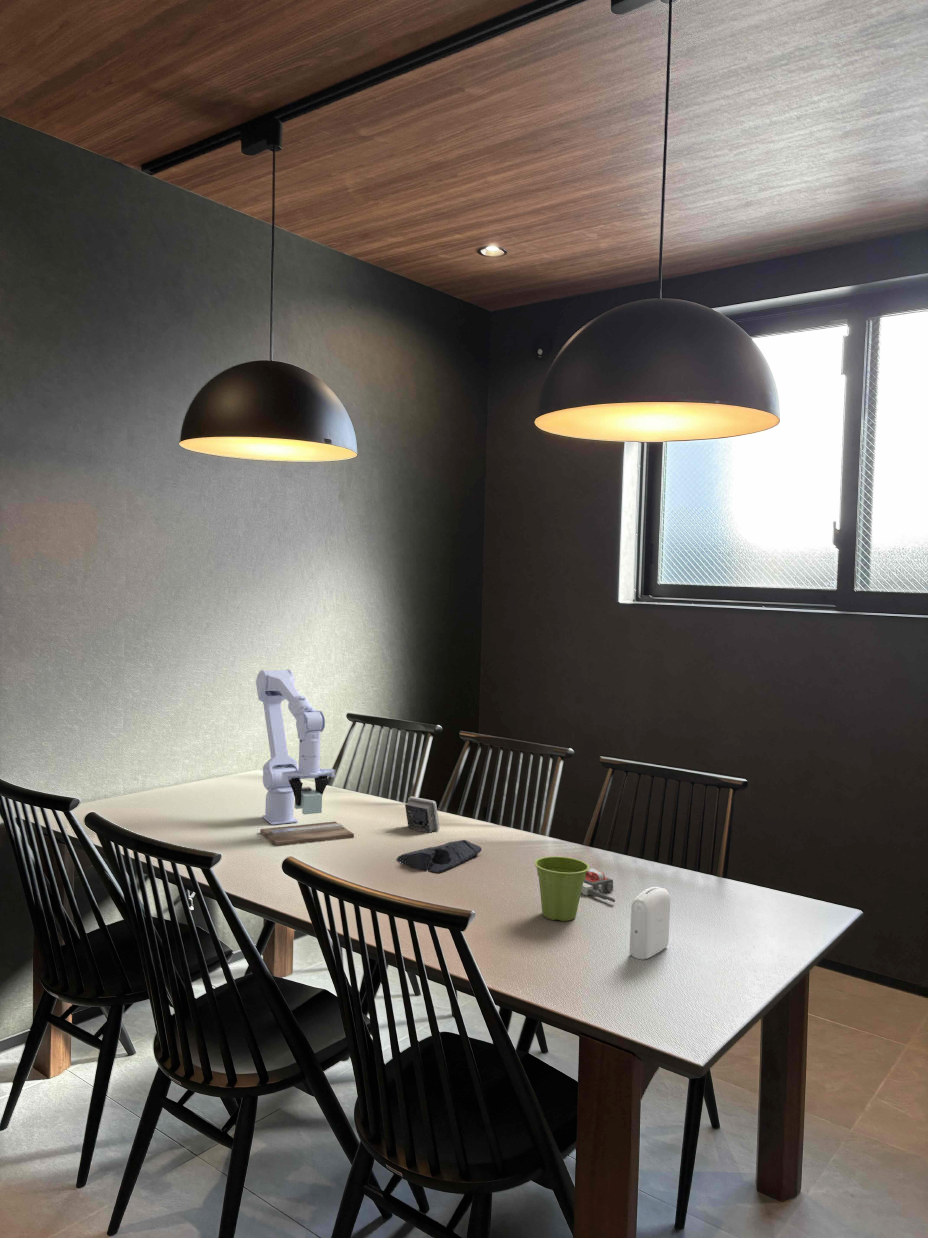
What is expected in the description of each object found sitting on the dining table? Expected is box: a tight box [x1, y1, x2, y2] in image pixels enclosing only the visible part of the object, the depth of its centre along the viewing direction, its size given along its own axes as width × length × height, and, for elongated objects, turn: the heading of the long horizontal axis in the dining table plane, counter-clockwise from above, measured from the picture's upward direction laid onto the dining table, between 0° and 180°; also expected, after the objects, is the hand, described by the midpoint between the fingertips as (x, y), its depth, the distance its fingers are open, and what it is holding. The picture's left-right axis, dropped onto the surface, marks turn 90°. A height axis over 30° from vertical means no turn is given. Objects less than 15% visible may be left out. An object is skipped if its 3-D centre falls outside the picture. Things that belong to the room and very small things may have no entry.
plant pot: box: [533, 855, 591, 922], centre depth 194 cm, size 12×12×11 cm
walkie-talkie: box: [581, 868, 616, 903], centre depth 212 cm, size 9×4×20 cm
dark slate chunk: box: [396, 839, 482, 874], centre depth 232 cm, size 15×22×5 cm
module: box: [294, 786, 323, 815], centre depth 249 cm, size 8×5×6 cm, turn 29°
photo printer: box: [629, 886, 671, 961], centre depth 177 cm, size 10×4×12 cm, turn 140°
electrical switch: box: [404, 795, 440, 834], centre depth 258 cm, size 9×5×9 cm, turn 57°
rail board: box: [259, 821, 355, 847], centre depth 249 cm, size 14×22×2 cm, turn 119°
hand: (307, 804), depth 249 cm, fingers closed on module, 5 cm apart
